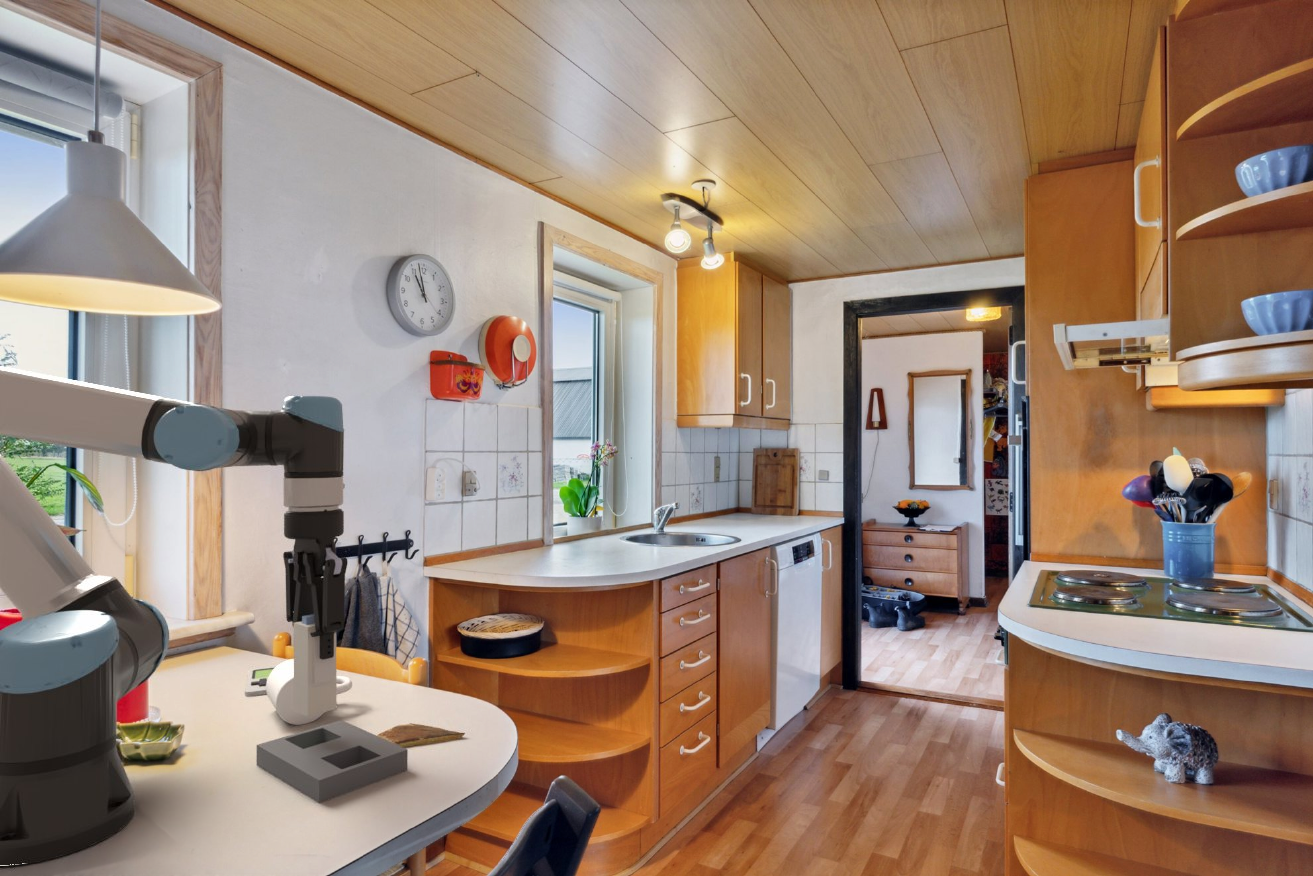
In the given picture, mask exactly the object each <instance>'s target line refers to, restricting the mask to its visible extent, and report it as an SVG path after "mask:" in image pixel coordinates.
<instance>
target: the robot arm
mask: <svg viewBox="0 0 1313 876" xmlns="http://www.w3.org/2000/svg"><path fill="white" fill-rule="evenodd" d="M281 408H282V409H279V410H278V409H277V410H270V411H269V410H245V409H244V410H243V409H241V410H239V409H237V410H236V409H235V410H234V409H227V408H222V407H217V406H214V405H209V404H202V403H199V402H197V403H196V402H190V401H183V400H179V399H172V398H166V397H162V396H158V395H153V394H147V393H142V392H135V391H131V390H126V389H120V388H117V387H116V388H115V387H110V386H105V385H100V384H94V383H91V382H90V383H88V382H84V381H79V380H73V379H69V378H64V377H58V376H54V375H53V376H52V375H47V374H41V373H36V372H32V371H26V370H21V369H16V368H11V367H5V366H0V436H2V437H9V438H13V439H14V438H15V439H20V440H26V441H31V442H33V441H34V442H38V443H44V444H51V445H56V446H63V447H70V448H74V449H75V448H76V449H80V450H86V451H93V452H97V453H98V452H99V453H104V454H111V455H116V456H121V457H128V458H134V459H141V460H145V461H146V460H147V461H153V462H157V463H160V464H161V463H163V464H166V465H171V466H174V467H175V468H178V469H181V470H186V471H194V472H206V471H211V470H214V469H219V468H230V467H253V466H254V467H256V466H257V467H259V466H261V467H262V466H263V467H264V466H272V467H273V466H274V467H275V466H283V506H284V508H288V510H286V511H285V513H284V514H283V535H284V537H285V538H287V539H288V540H294V544H293V550H291V551H290V550H289V551H284V552H283V554H282V557H283V562H284V563H283V564H284V568H285V571H284V572H285V612H286V613H285V614H286V615H285V616H286V617H285V618H286V621H287V622H288V623H291V622H292V627H293V629H294V623H295V622H300V621H302V616H306V615H312V614H314V620H315V630H316V632H312V633H310V635H311V636H312V684H314V685H316V684H320V683H324V682H328V681H332V680H334V633H336V634H337V632H338V631H343V630H344V628H345V606H346V605H345V604H346V603H345V597H346V594H345V592H346V573H347V568H348V558H347V557H338V556H337V550H336V546H335V541H334V540H335V538H337V537H340V536H342V535H343V534H344V532H345V531H344V530H345V528H344V527H345V526H344V524H345V520H344V519H345V518H344V516H345V515H344V514H345V512H344V510H343V509H342V508H339V506H342V505H343V504H344V489H345V487H346V486H345V485H346V484H345V483H344V459H345V458H344V455H345V454H344V448H345V447H344V446H345V445H344V441H345V429H344V420H343V419H344V418H343V415H344V413H343V404H342V402H341V401H340V400H339V399H338V398H335V397H333V396H325V395H291V396H286V397H285V398H284V401H283V406H282V407H281ZM0 589H1V591H2V592H3V593H4V595H5V596H6V597H7V598H8V600H9V601H10V602H11V603H12V604H13V606H14V608H15V609H17V610H18V612H19V613H20V614H21V618H22V619H21V620H19V621H17V622H14V623H12V624H10V625H8V626H5V627H4V628H2V629H1V630H0V865H10V864H11V865H12V864H14V865H15V864H22V863H29V864H35V863H39V861H40V862H44V861H47V860H51V859H52V860H53V859H55V858H59V857H63V856H65V855H68V854H72V853H75V852H77V851H80V850H83V849H86V848H88V847H91V846H93V845H95V844H97V843H99V842H101V841H103V840H107V838H109V837H111V836H113V835H114V834H116V833H117V832H119V831H120V830H122V829H123V828H124V827H125V826H126V825H128V823H130V822H131V821H132V819H133V817H134V814H135V794H134V793H135V791H134V789H133V787H132V786H133V785H131V782H130V779H129V777H128V774H127V772H126V769H125V767H124V765H123V763H122V760H121V757H120V756H119V753H118V749H117V728H118V727H117V723H118V722H117V717H118V716H117V713H118V711H117V710H118V709H117V707H118V705H117V704H118V702H119V701H120V700H121V699H122V698H123V697H125V696H126V695H128V694H130V692H131V691H133V690H135V689H137V688H138V687H140V686H141V685H142V684H144V683H145V682H147V681H148V680H149V678H151V676H153V674H154V673H155V671H156V670H157V668H159V666H160V665H161V663H162V662H163V660H164V659H165V657H166V655H167V652H168V649H169V645H170V629H169V625H168V622H167V620H166V618H165V616H164V615H163V614H162V612H161V611H160V610H159V609H158V608H157V607H155V605H153V604H151V603H150V602H148V601H145V600H144V599H143V600H142V599H139V598H134V597H132V595H130V593H129V591H128V590H127V589H126V588H125V587H124V586H123V585H122V583H121V582H120V580H119V579H118V578H117V577H116V576H109V575H102V574H98V573H95V572H94V570H93V569H92V568H91V566H90V565H89V563H88V562H87V561H86V560H85V559H84V558H83V556H82V555H81V554H80V552H79V551H78V550H77V549H76V548H75V546H74V545H73V543H72V542H71V541H70V540H69V538H68V537H67V536H66V535H65V533H64V532H63V531H62V530H61V529H60V527H59V526H58V524H57V523H56V522H55V521H54V520H53V518H52V517H51V516H50V515H49V513H48V512H47V511H46V509H45V508H44V506H42V504H41V503H40V502H39V501H38V499H36V497H35V496H34V494H33V492H31V490H29V488H28V487H27V485H26V484H25V483H24V481H22V479H21V478H20V477H19V475H18V474H17V473H16V472H15V470H14V469H13V468H12V466H11V465H10V464H9V463H8V461H7V460H6V459H5V457H4V456H3V455H2V454H1V453H0ZM34 862H35V863H34Z"/></svg>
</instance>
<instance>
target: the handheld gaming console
mask: <svg viewBox="0 0 1313 876" xmlns="http://www.w3.org/2000/svg"><path fill="white" fill-rule="evenodd" d="M276 666H277V665H276ZM276 666H275V665H274V666H267V667H258V668H251V669H248V670H247V675H246V681H245V687H244V696H245V697H247V698H249V697H256V696H263V695H264V696H265V695H267V692H266V683H267V679H268V677H269V675H270V673H271V672H272V671H273V669H274V668H275V667H276Z"/></svg>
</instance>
